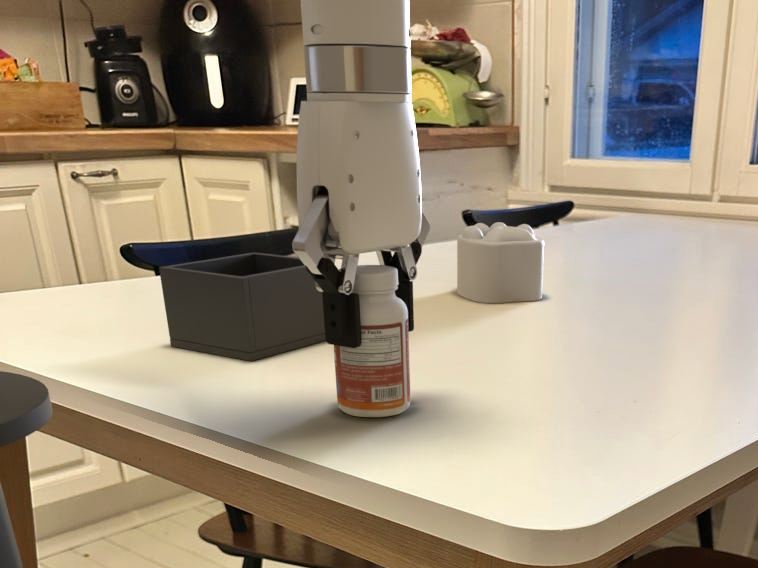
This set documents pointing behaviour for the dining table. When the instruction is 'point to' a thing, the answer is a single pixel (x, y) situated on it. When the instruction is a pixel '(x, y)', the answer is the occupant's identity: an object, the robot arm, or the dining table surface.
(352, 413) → the pill bottle
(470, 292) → the lumpy-topped squat cylinder
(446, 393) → the dining table surface
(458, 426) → the dining table surface
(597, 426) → the dining table surface
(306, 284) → the basket
